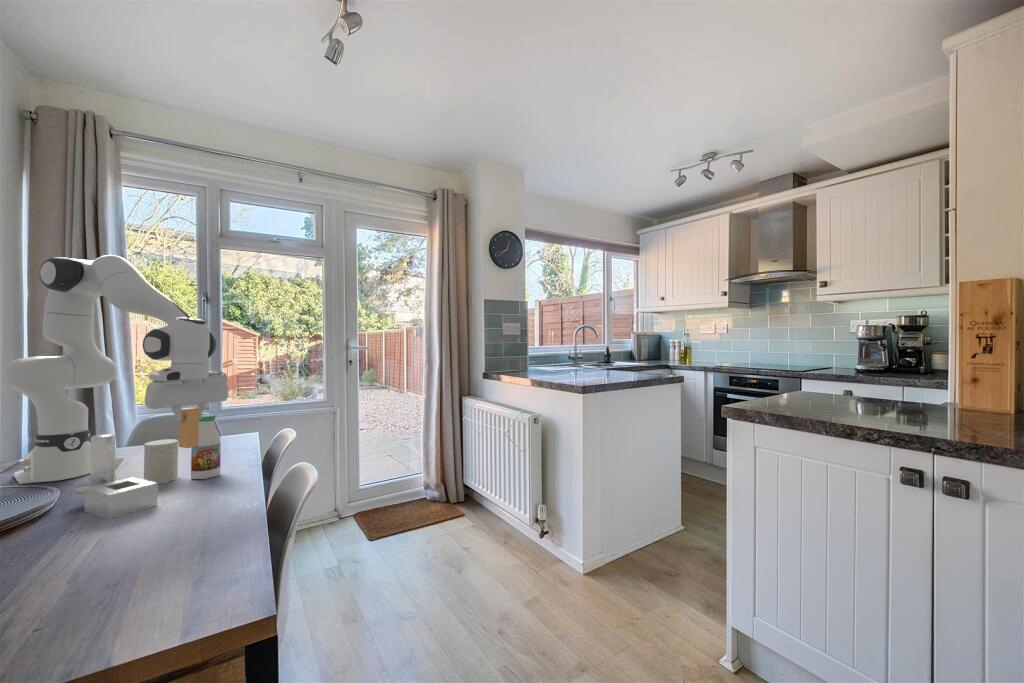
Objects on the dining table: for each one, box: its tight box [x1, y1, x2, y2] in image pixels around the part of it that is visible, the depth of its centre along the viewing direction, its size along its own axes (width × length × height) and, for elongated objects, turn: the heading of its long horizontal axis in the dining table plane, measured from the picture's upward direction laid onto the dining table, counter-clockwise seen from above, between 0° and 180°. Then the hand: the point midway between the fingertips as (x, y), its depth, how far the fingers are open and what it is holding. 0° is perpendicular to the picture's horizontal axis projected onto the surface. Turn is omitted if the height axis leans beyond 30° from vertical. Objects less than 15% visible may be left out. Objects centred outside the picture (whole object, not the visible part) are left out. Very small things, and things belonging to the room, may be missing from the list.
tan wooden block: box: [178, 407, 199, 449], centre depth 120 cm, size 4×3×11 cm
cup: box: [143, 438, 179, 484], centre depth 130 cm, size 8×8×12 cm
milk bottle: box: [190, 414, 222, 480], centre depth 134 cm, size 8×8×20 cm
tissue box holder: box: [75, 433, 159, 520], centre depth 110 cm, size 21×10×18 cm, turn 66°
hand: (189, 420), depth 120 cm, fingers closed on tan wooden block, 3 cm apart
